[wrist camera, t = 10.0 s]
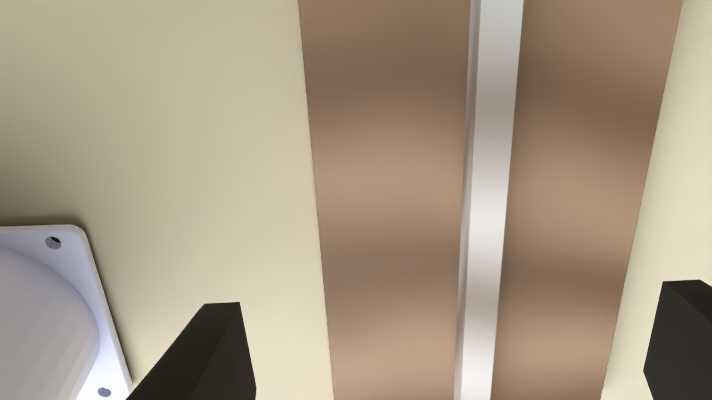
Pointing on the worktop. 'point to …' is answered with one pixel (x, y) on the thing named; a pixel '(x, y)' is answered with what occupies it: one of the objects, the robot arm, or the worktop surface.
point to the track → (479, 187)
